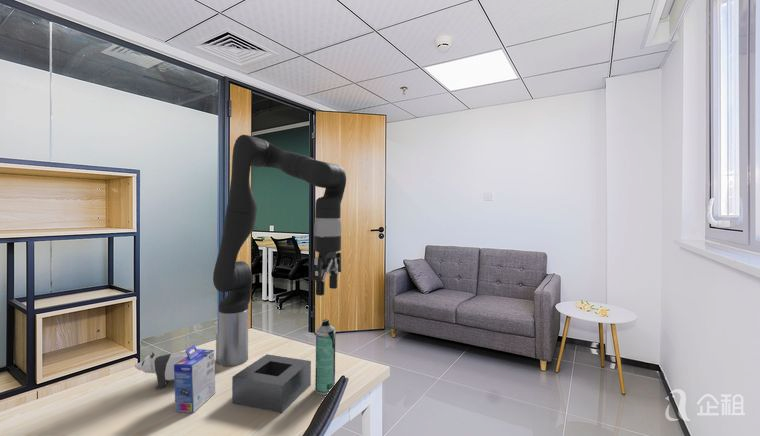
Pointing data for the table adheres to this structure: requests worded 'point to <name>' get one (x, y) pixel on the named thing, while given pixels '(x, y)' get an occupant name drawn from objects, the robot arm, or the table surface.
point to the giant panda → (161, 366)
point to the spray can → (325, 358)
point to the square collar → (271, 383)
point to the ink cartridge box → (194, 379)
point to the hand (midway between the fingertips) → (326, 291)
